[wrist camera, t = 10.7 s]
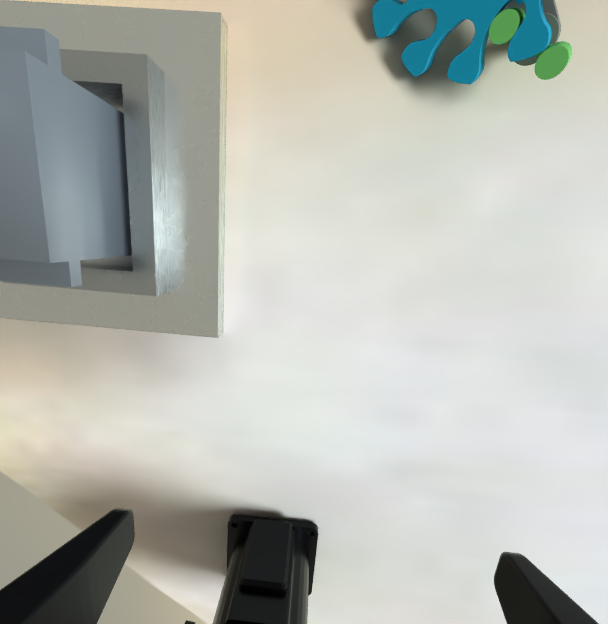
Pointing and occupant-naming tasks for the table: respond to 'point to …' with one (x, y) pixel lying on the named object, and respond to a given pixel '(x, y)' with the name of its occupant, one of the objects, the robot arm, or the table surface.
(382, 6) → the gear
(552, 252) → the table surface
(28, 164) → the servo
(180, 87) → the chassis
